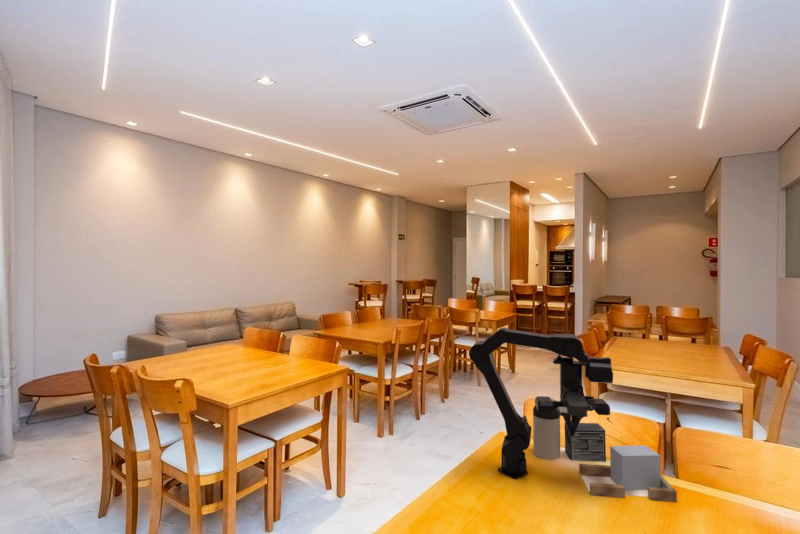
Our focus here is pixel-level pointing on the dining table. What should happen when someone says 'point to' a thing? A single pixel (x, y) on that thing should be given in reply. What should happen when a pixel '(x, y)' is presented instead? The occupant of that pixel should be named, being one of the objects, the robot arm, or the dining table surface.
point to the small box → (586, 443)
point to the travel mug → (546, 433)
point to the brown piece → (603, 485)
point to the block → (635, 467)
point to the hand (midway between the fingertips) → (571, 436)
